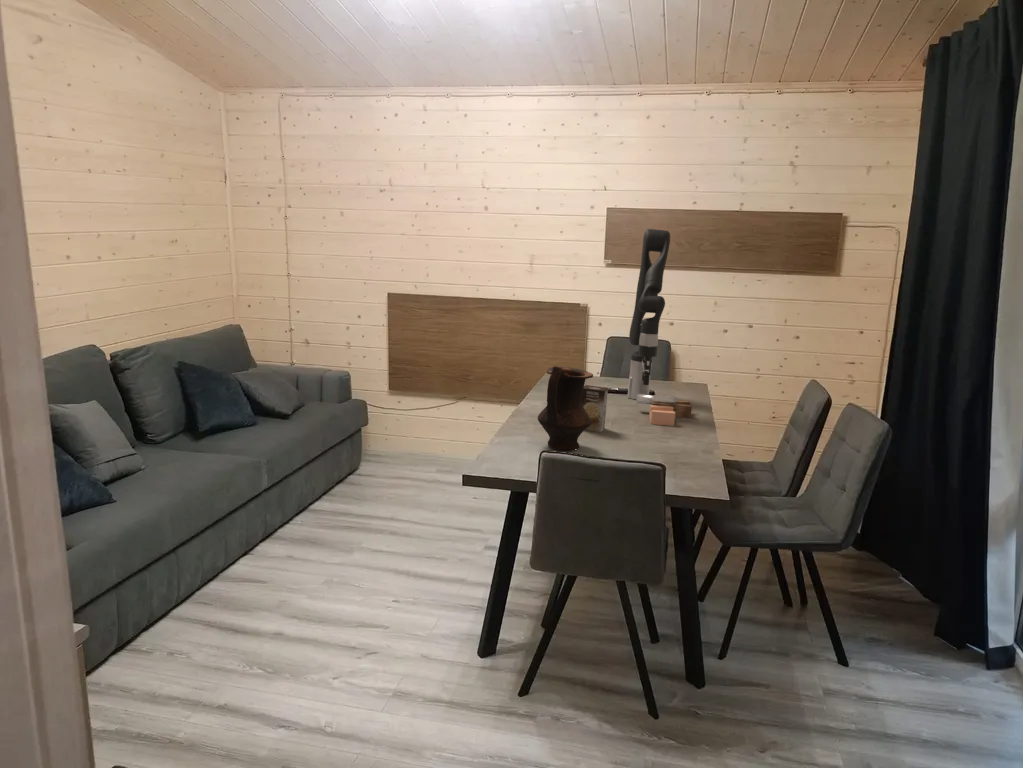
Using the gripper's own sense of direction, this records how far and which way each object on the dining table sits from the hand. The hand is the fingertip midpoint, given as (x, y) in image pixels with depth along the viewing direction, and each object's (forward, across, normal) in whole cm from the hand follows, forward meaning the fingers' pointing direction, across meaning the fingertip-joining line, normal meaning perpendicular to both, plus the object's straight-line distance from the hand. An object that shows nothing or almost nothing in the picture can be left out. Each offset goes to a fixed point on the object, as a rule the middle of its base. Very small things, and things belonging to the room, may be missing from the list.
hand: (645, 382), depth 301 cm
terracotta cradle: (+13, +13, +7) cm, 19 cm away
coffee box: (+13, +32, -21) cm, 40 cm away
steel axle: (+9, 0, +5) cm, 10 cm away
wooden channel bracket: (+13, 0, +11) cm, 17 cm away
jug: (+13, +58, -31) cm, 68 cm away
